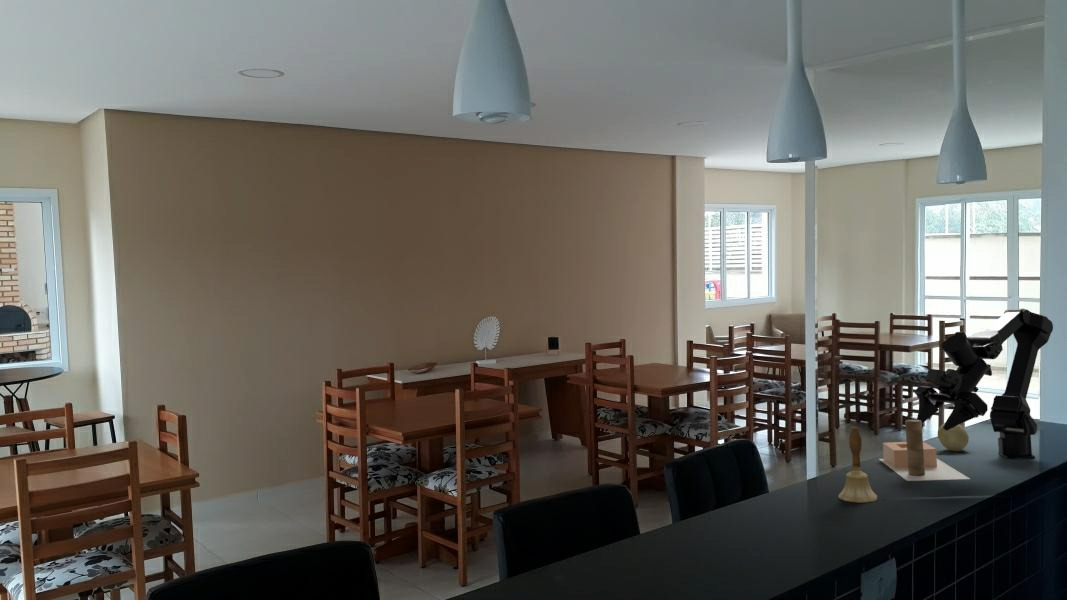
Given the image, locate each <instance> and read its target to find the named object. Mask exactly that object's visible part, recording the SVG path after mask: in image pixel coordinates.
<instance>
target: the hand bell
mask: <svg viewBox="0 0 1067 600" xmlns="http://www.w3.org/2000/svg"><path fill="white" fill-rule="evenodd" d="M848 437H849V438H848V439H849V440H848V441H849V442H848V443H849V449H850V452H851V455H852V456H851V457H852V465H851V467H852V470H850V471H849V472H847V473H846V476H845V484H844V487H843V489H842V491H841V492H839V494H838V499H839V500H842V501H845V502H850V503H859V504H860V503H861V504H863V503H872V502H873V503H874V502H876V501H877V500H879V497H878V495H877V494H876V493H875V492H874V491H873V490H872V487H871V485H870V481H869V478H868V474H867V473H865V472H863V471H862V470H861V466H862V465H861V451H862V445H863V444H862V443H863V441H862V440H863V439H862V435H861V433H860V431H859V427H857V426H852V427H851V430H850V433H849V436H848Z"/></svg>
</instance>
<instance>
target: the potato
mask: <svg viewBox="0 0 1067 600" xmlns="http://www.w3.org/2000/svg"><path fill="white" fill-rule="evenodd" d="M944 424H945V422H944V423H942V424H941V425H940V426H939V428H938V430H937V439H938V441H939V442H940V444H941V445H942V446H943V447H944V448H945V449H947V450H948V451H952V452H960V451H962V450H964V449H965V448H966V447H968V443H969V438H970V437H969V434H968V431H967V430H966V429H965V428H964V426H963V425H962V424H959V425H957V426H955V427H953V428H951V429H949V430H947V431H946V430H944V429H943V426H944Z"/></svg>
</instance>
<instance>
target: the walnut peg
mask: <svg viewBox="0 0 1067 600" xmlns="http://www.w3.org/2000/svg"><path fill="white" fill-rule="evenodd" d="M904 423H905V425H904V426H905V436H906V437H905V439H906V441H905V442H907V457H908V473H909V475H912V476H923V475H925V468H924V452H923V442H924V440H923V439H924V437H923V425H922V424H923V423H922V421H921V420H917V419H906V420H904Z"/></svg>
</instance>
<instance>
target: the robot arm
mask: <svg viewBox="0 0 1067 600" xmlns="http://www.w3.org/2000/svg"><path fill="white" fill-rule="evenodd" d="M1053 330H1054V325H1053V321H1051V319H1049V317H1047V316H1044V315H1041V314H1040V313H1036V312H1032V311H1031V310H1029V309H1027V308H1008V309H1006V310H1004V312H1003V315H1001V316H1000V317H999V318H998V319H997V320H995V321H994V322H993V323H992V324H991V325H990V326H988V328H987V329H985V330H984V331H980V332H979V331H978V332H975V333H973V334H970V335H969V336H967V334H966V332H964V331H956V332H955V333H954V334H953V335H951V336H950V337H947V338H946V339H945V340H944V341H943V342H942V345H941V348H942V351H943V352H944V353H945V354H946V355H947V357H948V359H949V360H950V361H951V362H952V364H953V365H954V366H956V367H957V368H956V369H953V368H947V369H946V370H942V369H935V368H928V370H927V373H926V375H925V380H924V381H925V382H927V383H931V384H933V385H935V388H934V387H933V386H926V385H917V388H916V389H915V391H914V394H915V395H916V398H917V399H918V400H919V407H918V408H919V409H918V413H917V417H916V420H921V421H922V424H924V423H925V422H926V421H928V420H929V419H930V418H931V417H933V416H934V414H935V415H936V413H938V412H939V411H940V409H939V408H941V407H942V406H943V405H944V403H946V404H951V405H953V409H952V411H951V413H950V414H949V416H948V418H947V419H946V421H945V422H944V423H945V424H944V423H943V424H944V426H943V429H944V430H946V431H947V430H949V429H951V428H953V427H955V426H957V425H959V424H960V425H962V424H964V423H965V422H968V421H970V420H973V419H975V418H977V419H978V417H980V416H982V417H984V416H985V415H986V414H987V412H988V410H989V409H988V404H987V403H986V402H985V401H984V400H983V399H982V397H980V396H979V395H978V394H977V392H978V391H979V388H978V387H977V386H978V384H979V382H980V381H981V380H982V379H983V377H984V376H989V377H992V376H993V372H992V368H991V365H992V364H987V362H986V361H985V360H995V359H997V358H998V357H999V355H1000V354H1001V353H1002V351H1003V348H1004V347H1003V343H1004V342H1005V341H1007V340H1008V339H1009V338H1010V337H1011V336H1012V335H1013V337H1014V338H1015V341H1016V343H1017V344H1016V348H1015V352H1014V355H1013V360H1012V364H1011V369H1010V372H1009V375H1008V379H1007V383H1006V387H1005V390H1004V392H1003V394H1001V395H998V394H997V395H995V396H994V397H993V402H992V405H991V407H990V413H989V419H990V423H991V426H992V429H993V433H999V437H997V442H998V443H997V444H998V452H997V453H998V455H1000V456H1002V457H1005V459H1006V458H1007V459H1032V458H1033V459H1036V455H1034V454H1033V451H1032V449H1033V448H1032V436H1034V435H1036V434H1037V431H1038V424H1037V423H1036V421H1035V420H1034V418H1033V417H1032V415H1031V408H1030V405H1029V404H1028V403H1029V402H1027V395H1028V392H1029V388H1030V384H1031V380H1032V376H1033V372H1034V368H1035V364H1036V361H1037V356H1038V353H1039V350H1041V349H1042V348H1043V347H1044V346H1045V345H1046V344H1047V343H1048V342H1049V339H1050V337H1051V334H1052V333H1053ZM937 390H938V391H940V392H938V391H937ZM1031 435H1032V436H1031Z"/></svg>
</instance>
